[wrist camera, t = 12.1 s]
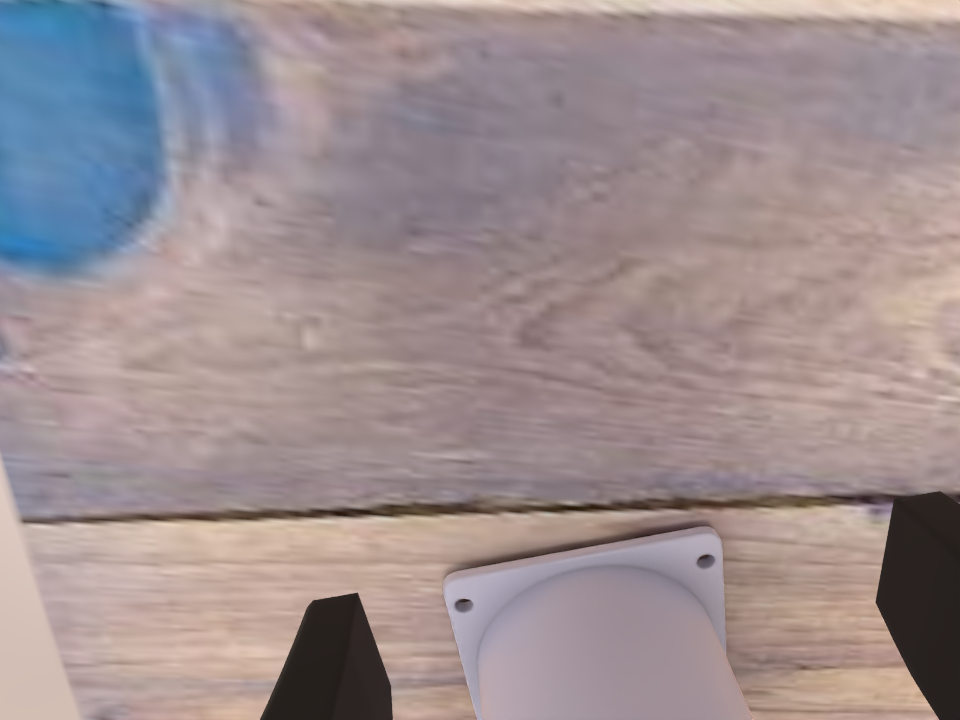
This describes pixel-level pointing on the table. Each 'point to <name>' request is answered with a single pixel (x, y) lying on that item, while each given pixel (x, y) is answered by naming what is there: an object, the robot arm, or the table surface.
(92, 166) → the table surface
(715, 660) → the robot arm
